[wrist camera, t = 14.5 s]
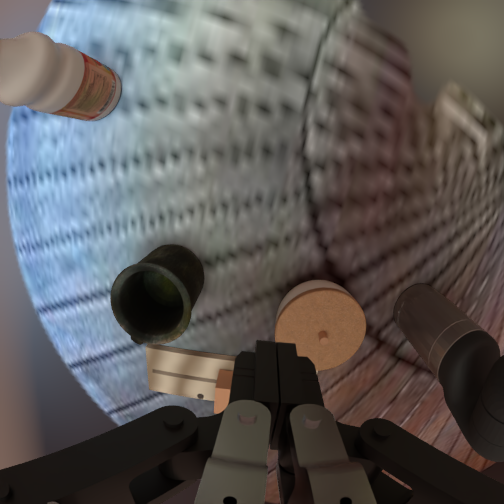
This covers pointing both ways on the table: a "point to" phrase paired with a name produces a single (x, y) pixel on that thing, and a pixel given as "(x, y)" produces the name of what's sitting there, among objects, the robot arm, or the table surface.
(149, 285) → the mug
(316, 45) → the table surface
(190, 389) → the count board
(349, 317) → the lidded bowl
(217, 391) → the slider
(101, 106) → the fruit juice
